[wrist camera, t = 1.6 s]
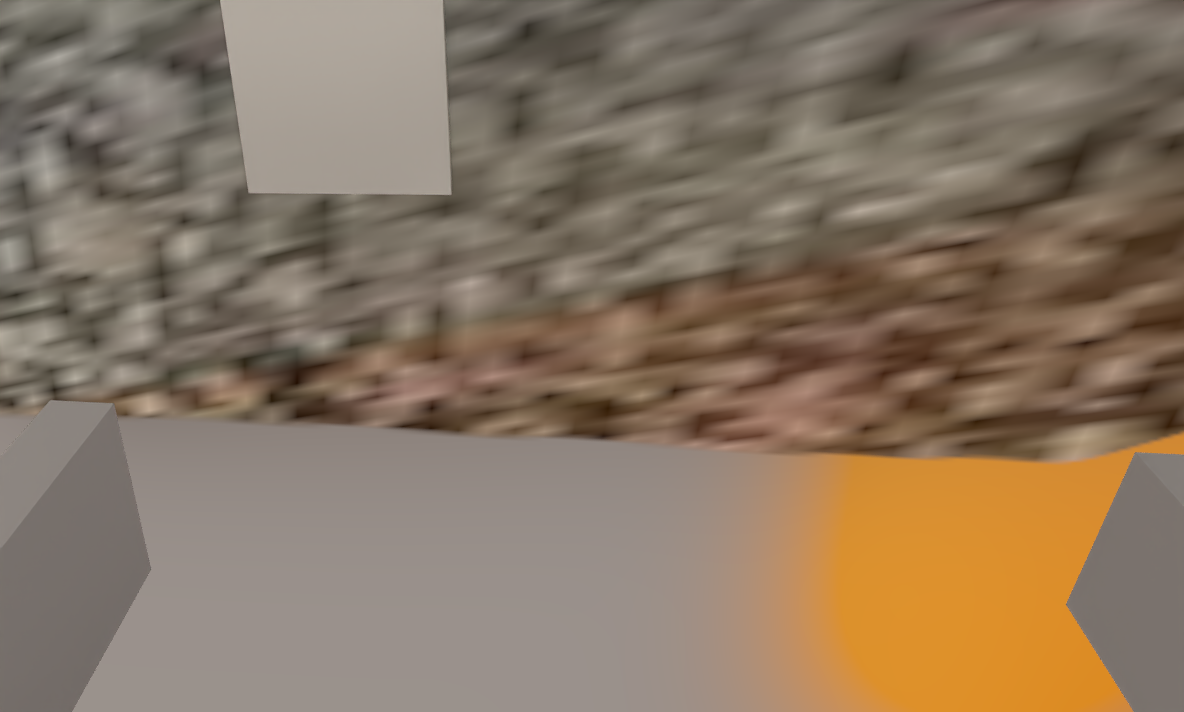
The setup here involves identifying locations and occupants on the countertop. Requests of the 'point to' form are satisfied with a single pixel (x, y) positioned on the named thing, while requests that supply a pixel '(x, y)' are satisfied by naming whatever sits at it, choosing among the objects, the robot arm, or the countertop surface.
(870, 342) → the countertop surface
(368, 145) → the coaster
